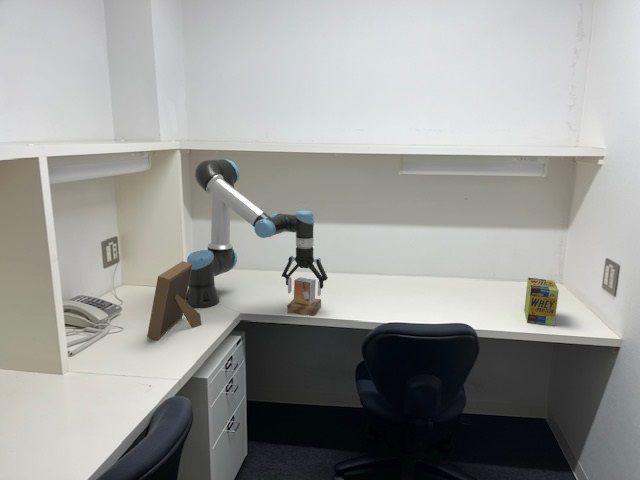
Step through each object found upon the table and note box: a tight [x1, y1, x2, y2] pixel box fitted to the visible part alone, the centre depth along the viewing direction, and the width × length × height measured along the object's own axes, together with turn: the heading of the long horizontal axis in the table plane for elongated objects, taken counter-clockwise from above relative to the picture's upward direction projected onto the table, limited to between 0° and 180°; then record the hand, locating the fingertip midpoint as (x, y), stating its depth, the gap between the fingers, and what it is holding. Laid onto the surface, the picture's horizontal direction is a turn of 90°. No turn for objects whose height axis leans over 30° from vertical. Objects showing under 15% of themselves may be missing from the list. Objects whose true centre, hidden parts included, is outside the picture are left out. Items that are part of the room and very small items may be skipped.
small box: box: [293, 276, 317, 305], centre depth 199 cm, size 8×6×10 cm
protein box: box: [523, 277, 559, 327], centre depth 192 cm, size 10×15×16 cm
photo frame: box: [146, 260, 202, 341], centre depth 176 cm, size 15×22×25 cm
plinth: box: [287, 298, 322, 317], centre depth 200 cm, size 12×12×4 cm
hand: (304, 293), depth 199 cm, fingers open, 13 cm apart
